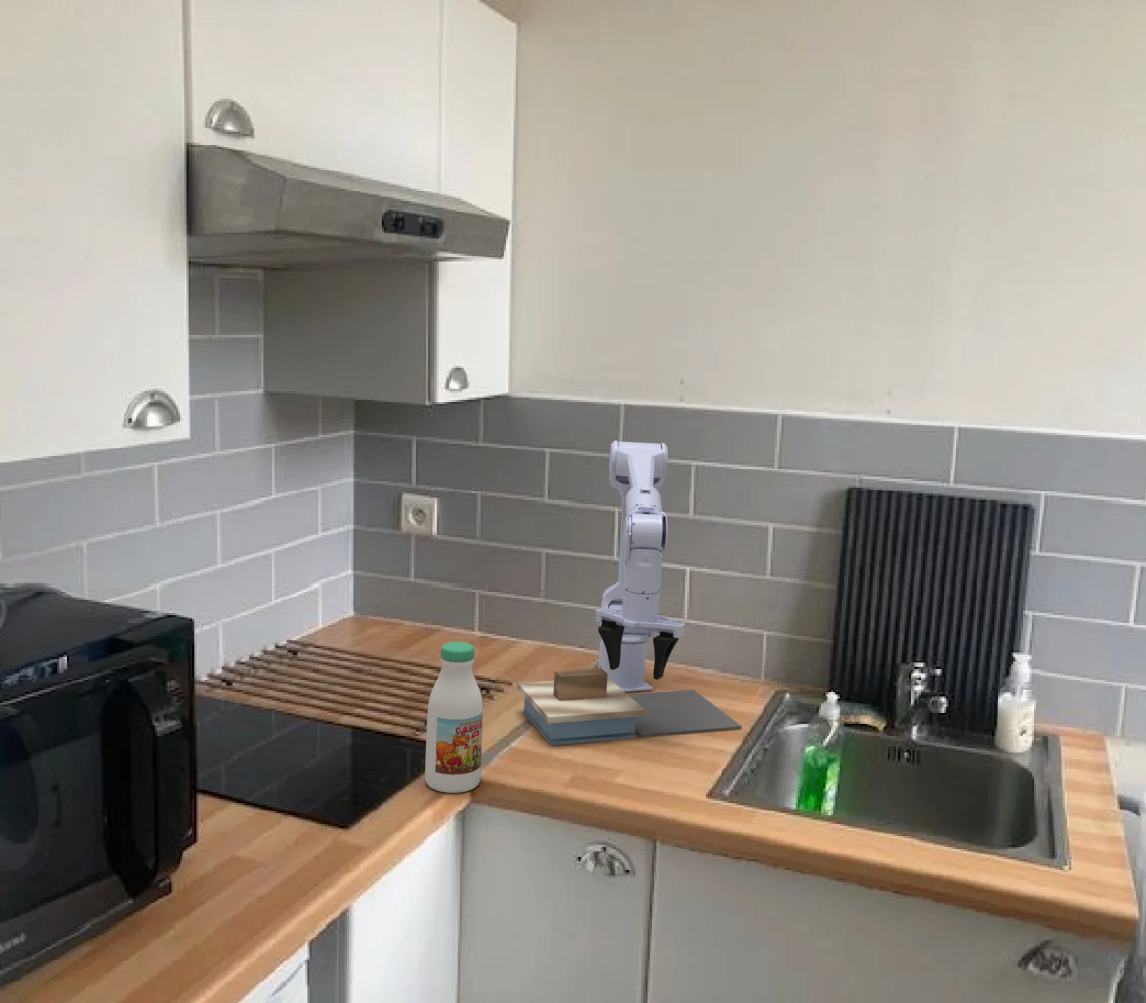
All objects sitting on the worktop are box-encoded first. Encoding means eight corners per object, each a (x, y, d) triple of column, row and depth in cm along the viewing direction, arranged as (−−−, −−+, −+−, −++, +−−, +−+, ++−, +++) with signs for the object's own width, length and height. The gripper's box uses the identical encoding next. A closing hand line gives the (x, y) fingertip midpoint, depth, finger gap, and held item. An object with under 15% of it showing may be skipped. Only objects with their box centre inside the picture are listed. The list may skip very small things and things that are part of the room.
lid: (517, 688, 187) (518, 659, 186) (607, 682, 192) (609, 654, 192) (548, 723, 172) (549, 692, 171) (644, 715, 178) (646, 685, 177)
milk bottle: (415, 787, 156) (419, 648, 153) (440, 767, 164) (445, 634, 160) (465, 798, 154) (471, 657, 151) (489, 778, 161) (495, 642, 158)
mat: (599, 699, 196) (599, 696, 196) (693, 692, 202) (693, 689, 202) (640, 737, 179) (640, 734, 179) (741, 729, 186) (741, 726, 185)
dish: (523, 713, 187) (525, 690, 186) (602, 707, 192) (604, 685, 191) (551, 745, 174) (552, 720, 174) (634, 738, 179) (636, 714, 178)
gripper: (588, 586, 176) (583, 670, 179) (674, 602, 170) (668, 689, 172) (609, 578, 183) (604, 659, 185) (692, 593, 176) (686, 677, 178)
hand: (636, 672), depth 179 cm, fingers open, 7 cm apart
